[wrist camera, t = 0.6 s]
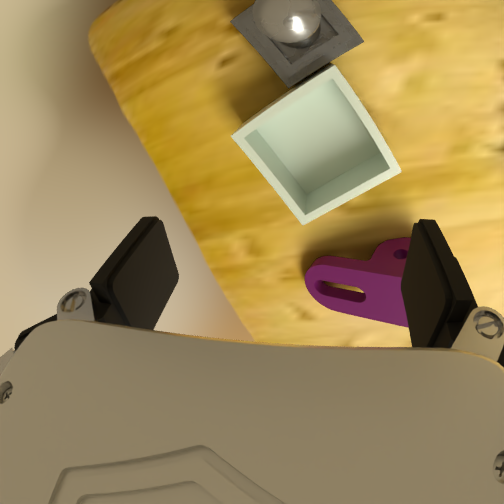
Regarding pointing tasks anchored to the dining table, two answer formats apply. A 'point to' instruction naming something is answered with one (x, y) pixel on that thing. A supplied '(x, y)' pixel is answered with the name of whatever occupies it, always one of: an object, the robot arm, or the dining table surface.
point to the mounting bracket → (363, 283)
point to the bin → (317, 145)
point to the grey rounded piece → (289, 21)
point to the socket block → (302, 59)
